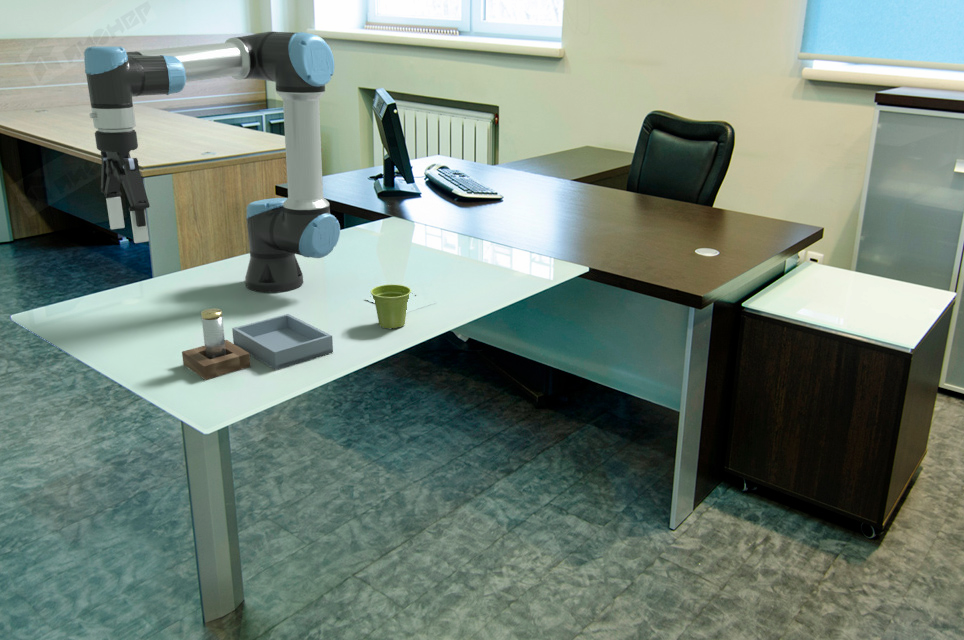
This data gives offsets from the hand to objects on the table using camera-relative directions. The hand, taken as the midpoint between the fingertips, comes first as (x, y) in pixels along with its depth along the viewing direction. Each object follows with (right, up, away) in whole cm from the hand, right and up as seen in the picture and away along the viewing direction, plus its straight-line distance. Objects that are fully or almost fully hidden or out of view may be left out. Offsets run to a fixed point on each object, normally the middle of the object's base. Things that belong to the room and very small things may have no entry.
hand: (129, 235), depth 168 cm
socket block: (+17, -27, +3) cm, 32 cm away
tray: (+29, -24, +12) cm, 39 cm away
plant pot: (+51, -19, +27) cm, 61 cm away
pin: (+17, -27, +3) cm, 32 cm away
